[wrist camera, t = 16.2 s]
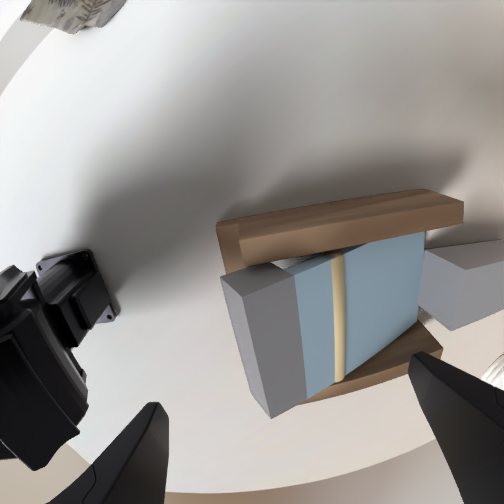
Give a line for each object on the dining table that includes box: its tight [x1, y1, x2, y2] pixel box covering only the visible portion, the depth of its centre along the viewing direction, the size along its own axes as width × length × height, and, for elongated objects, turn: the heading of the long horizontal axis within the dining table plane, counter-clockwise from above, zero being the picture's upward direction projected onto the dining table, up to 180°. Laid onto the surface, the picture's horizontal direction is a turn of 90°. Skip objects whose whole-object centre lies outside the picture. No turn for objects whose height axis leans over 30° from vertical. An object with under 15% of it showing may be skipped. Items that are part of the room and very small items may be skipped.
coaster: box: [480, 354, 504, 390], centre depth 29 cm, size 10×10×4 cm
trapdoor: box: [220, 231, 425, 419], centre depth 19 cm, size 10×16×3 cm, turn 100°
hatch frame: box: [216, 189, 464, 405], centre depth 20 cm, size 14×16×5 cm
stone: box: [417, 240, 504, 331], centre depth 19 cm, size 5×5×12 cm
